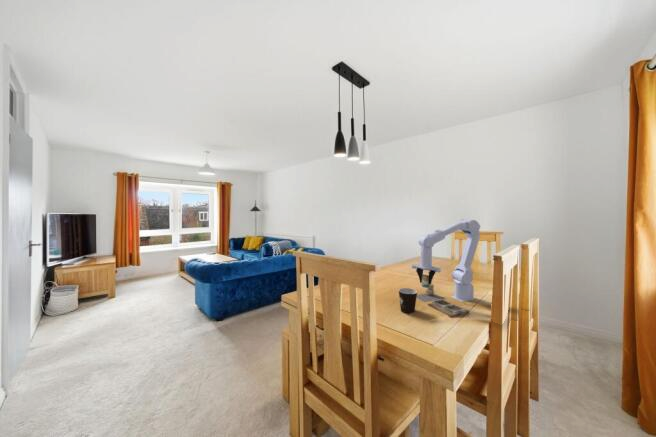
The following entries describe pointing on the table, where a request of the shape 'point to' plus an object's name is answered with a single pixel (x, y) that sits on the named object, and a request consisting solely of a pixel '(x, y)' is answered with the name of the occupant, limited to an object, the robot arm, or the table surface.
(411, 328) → the table surface
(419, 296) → the mat
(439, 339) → the table surface
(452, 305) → the brown compartment tray
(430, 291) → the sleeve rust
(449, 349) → the table surface
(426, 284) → the cream teal cylinder
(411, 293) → the coffee mug
